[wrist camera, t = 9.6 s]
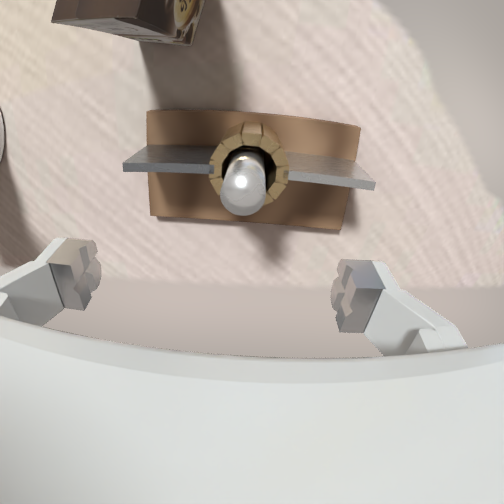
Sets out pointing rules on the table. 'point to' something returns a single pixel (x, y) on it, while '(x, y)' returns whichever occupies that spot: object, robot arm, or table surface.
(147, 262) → the table surface
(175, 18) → the coffee box
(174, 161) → the hinge
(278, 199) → the walnut base
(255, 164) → the hinge pin
